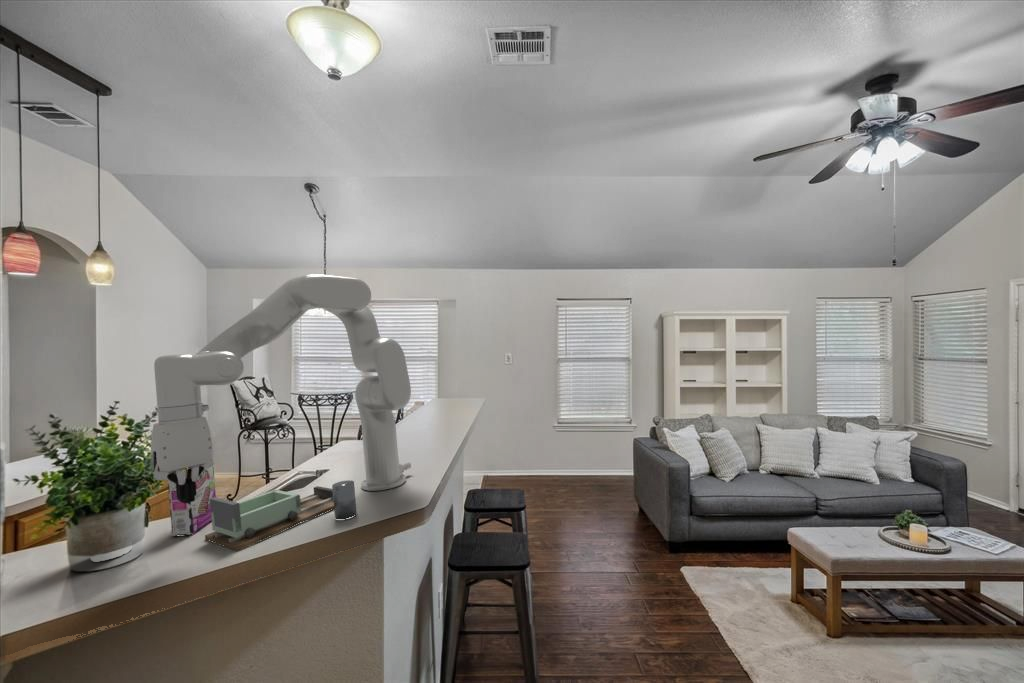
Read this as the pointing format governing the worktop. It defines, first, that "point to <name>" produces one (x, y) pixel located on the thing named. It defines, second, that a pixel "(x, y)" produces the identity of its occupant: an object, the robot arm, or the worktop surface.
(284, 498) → the toy truck
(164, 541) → the worktop surface
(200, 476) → the candy bar box
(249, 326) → the robot arm
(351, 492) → the metal cylinder
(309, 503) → the track
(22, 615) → the worktop surface
